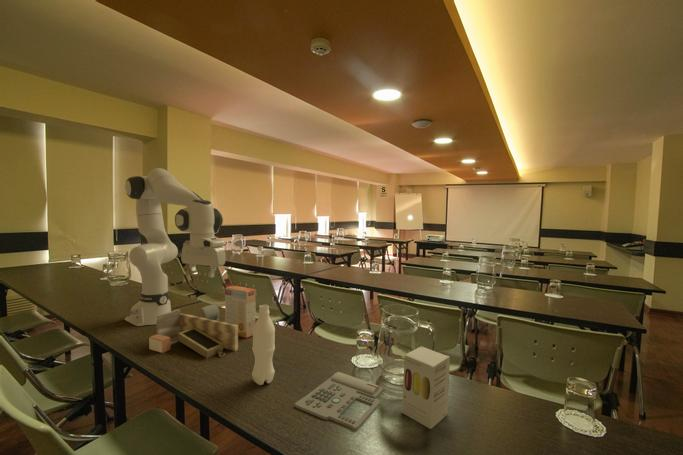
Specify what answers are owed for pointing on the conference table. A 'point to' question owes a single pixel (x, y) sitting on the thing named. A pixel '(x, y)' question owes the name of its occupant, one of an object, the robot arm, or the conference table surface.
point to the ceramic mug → (209, 312)
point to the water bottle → (263, 347)
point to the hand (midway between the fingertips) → (202, 276)
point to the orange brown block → (159, 343)
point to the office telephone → (340, 399)
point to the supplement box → (425, 386)
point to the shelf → (180, 322)
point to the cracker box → (241, 309)
